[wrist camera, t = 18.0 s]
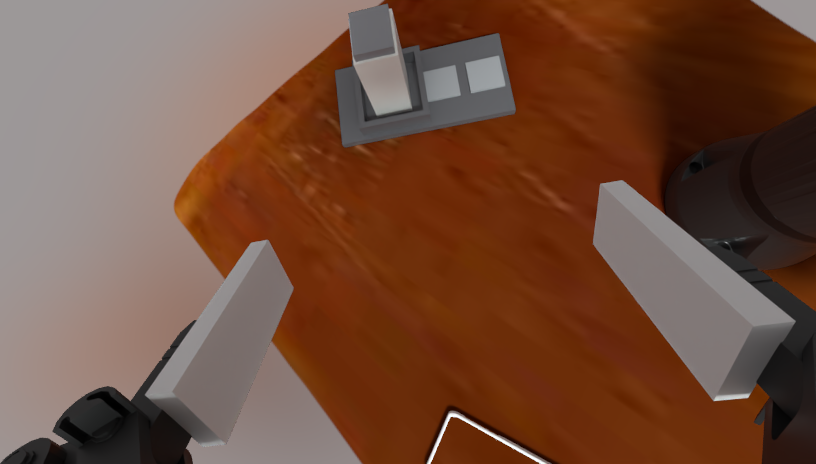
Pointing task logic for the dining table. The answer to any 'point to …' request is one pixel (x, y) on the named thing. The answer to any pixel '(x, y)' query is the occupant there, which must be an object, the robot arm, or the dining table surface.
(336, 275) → the dining table surface
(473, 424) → the silver rectangular frame
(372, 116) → the grey socket base plate
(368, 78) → the plug
